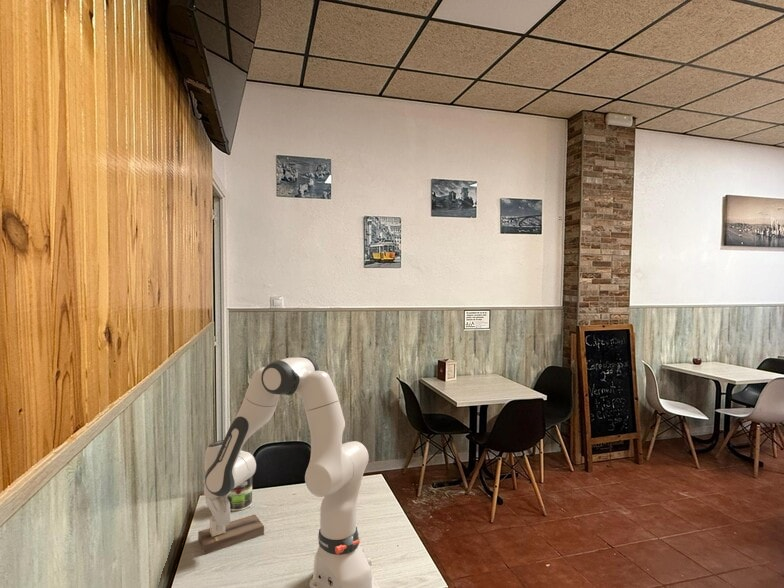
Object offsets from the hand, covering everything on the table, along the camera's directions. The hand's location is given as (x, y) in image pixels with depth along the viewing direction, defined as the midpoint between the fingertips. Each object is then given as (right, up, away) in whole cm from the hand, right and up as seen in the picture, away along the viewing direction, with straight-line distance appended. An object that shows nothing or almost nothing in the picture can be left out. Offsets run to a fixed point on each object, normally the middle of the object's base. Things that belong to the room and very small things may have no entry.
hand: (217, 527), depth 145 cm
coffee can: (-2, -6, +26) cm, 26 cm away
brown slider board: (+4, -5, +3) cm, 7 cm away
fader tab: (0, -2, 0) cm, 2 cm away
